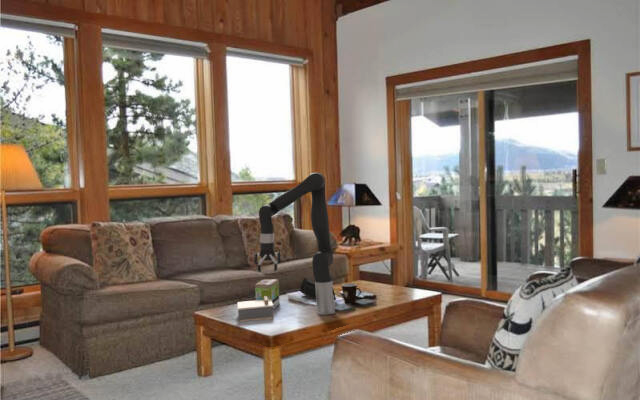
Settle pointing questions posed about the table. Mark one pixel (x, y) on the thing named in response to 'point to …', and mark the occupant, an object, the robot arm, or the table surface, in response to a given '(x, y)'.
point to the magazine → (309, 288)
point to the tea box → (268, 291)
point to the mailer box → (256, 314)
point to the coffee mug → (350, 292)
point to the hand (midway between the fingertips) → (267, 271)
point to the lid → (255, 304)
